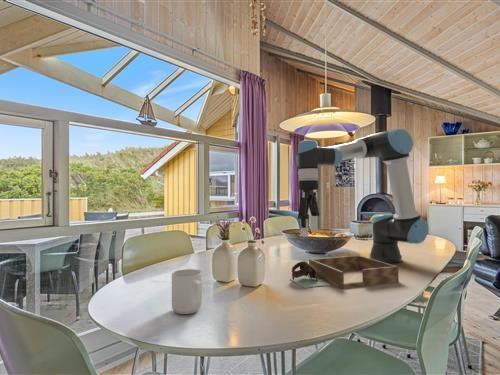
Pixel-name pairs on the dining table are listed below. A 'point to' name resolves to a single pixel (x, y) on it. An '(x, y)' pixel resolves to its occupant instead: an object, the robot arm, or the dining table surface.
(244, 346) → the dining table surface
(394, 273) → the crate
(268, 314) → the dining table surface
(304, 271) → the brown hollow vessel
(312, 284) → the mat
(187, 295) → the mug
